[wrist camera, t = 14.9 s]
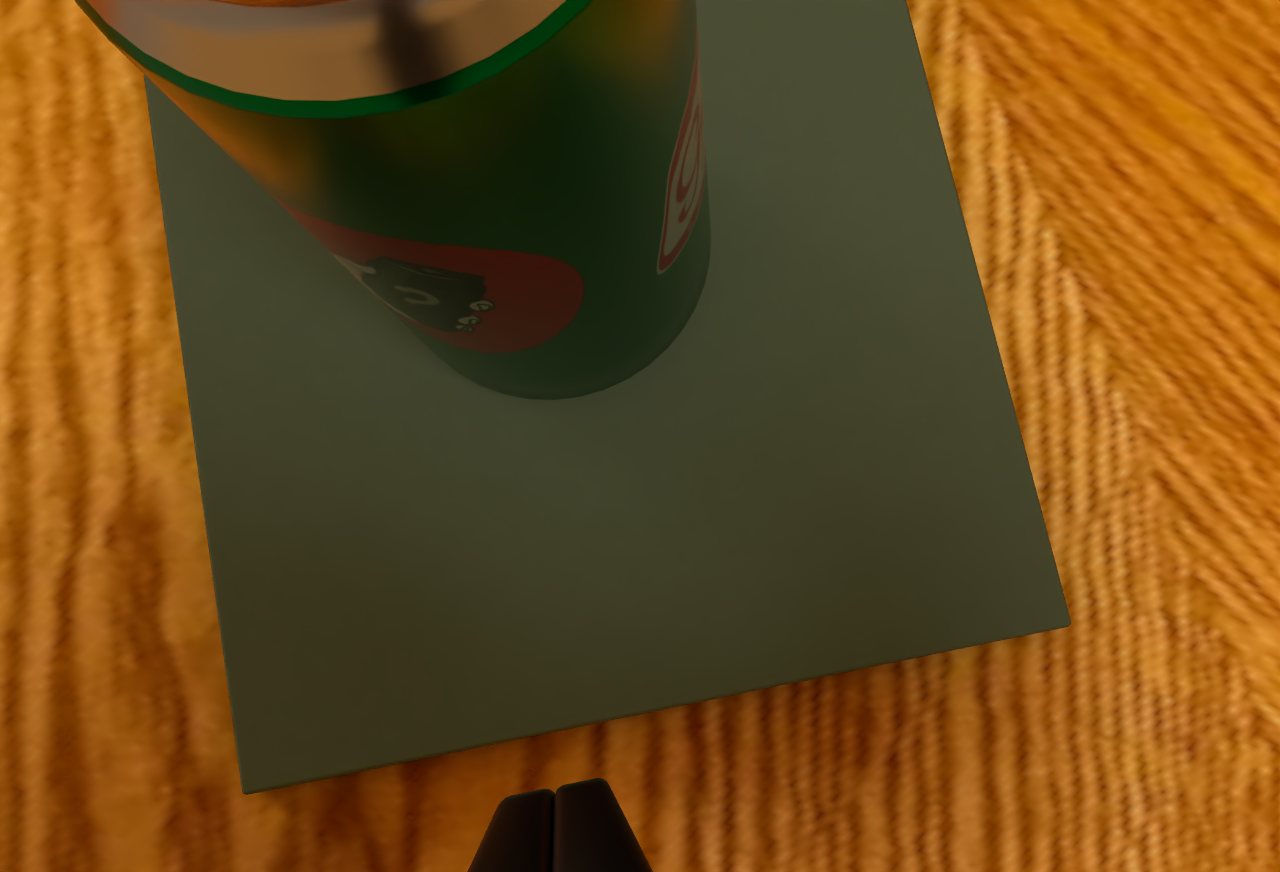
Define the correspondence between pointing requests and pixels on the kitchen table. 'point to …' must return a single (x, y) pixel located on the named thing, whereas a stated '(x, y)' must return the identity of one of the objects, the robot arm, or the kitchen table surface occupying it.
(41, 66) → the kitchen table surface
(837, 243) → the mat
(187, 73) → the soda can
